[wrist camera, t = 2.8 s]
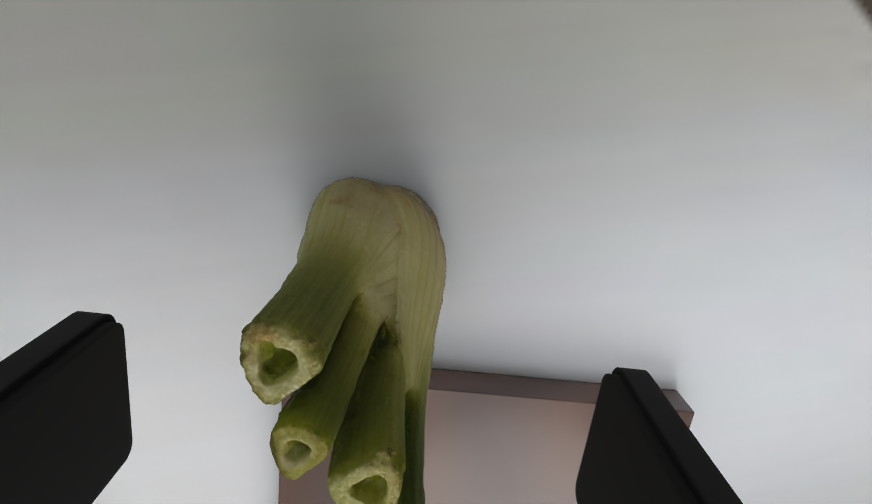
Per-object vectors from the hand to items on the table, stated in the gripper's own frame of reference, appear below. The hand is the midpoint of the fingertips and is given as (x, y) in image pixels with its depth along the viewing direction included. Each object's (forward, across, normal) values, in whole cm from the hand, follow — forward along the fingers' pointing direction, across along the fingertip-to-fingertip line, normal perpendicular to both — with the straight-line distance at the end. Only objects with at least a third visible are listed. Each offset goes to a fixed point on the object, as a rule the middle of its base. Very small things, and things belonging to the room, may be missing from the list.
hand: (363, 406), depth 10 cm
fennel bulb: (+10, +1, 0) cm, 10 cm away
